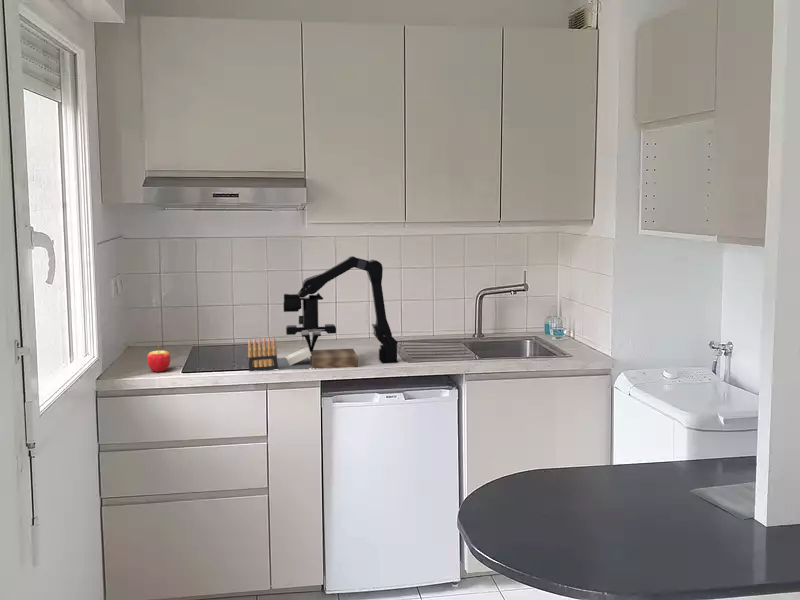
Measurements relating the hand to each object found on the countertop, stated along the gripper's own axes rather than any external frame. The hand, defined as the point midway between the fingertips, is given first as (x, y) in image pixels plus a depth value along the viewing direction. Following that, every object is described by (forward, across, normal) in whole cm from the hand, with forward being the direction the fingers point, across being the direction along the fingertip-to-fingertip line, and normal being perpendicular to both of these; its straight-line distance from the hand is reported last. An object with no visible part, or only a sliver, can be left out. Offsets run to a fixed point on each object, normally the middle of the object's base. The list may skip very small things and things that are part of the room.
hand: (311, 351), depth 312 cm
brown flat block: (+5, -8, 0) cm, 10 cm away
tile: (+3, +4, 0) cm, 5 cm away
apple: (+5, +56, +2) cm, 56 cm away
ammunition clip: (+5, +18, +7) cm, 20 cm away
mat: (+5, +8, -2) cm, 9 cm away
